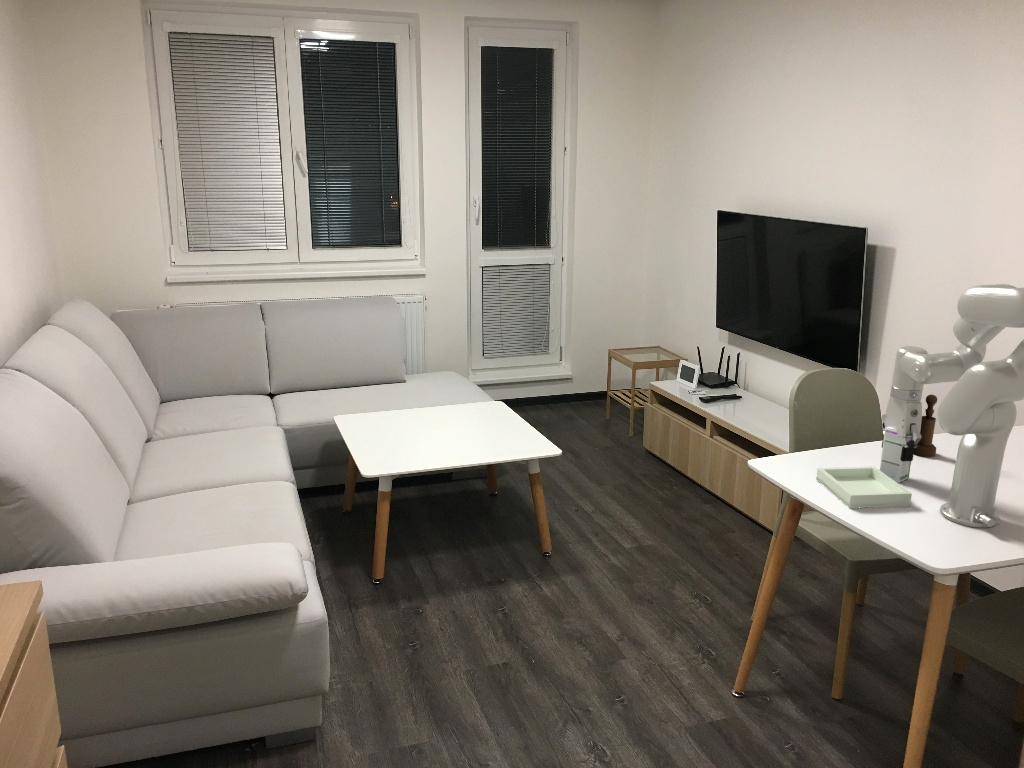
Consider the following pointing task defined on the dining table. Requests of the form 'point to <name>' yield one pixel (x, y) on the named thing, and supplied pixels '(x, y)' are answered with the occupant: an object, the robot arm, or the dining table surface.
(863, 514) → the dining table surface
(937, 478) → the dining table surface
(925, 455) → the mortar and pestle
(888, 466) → the syrup box
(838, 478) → the tray
